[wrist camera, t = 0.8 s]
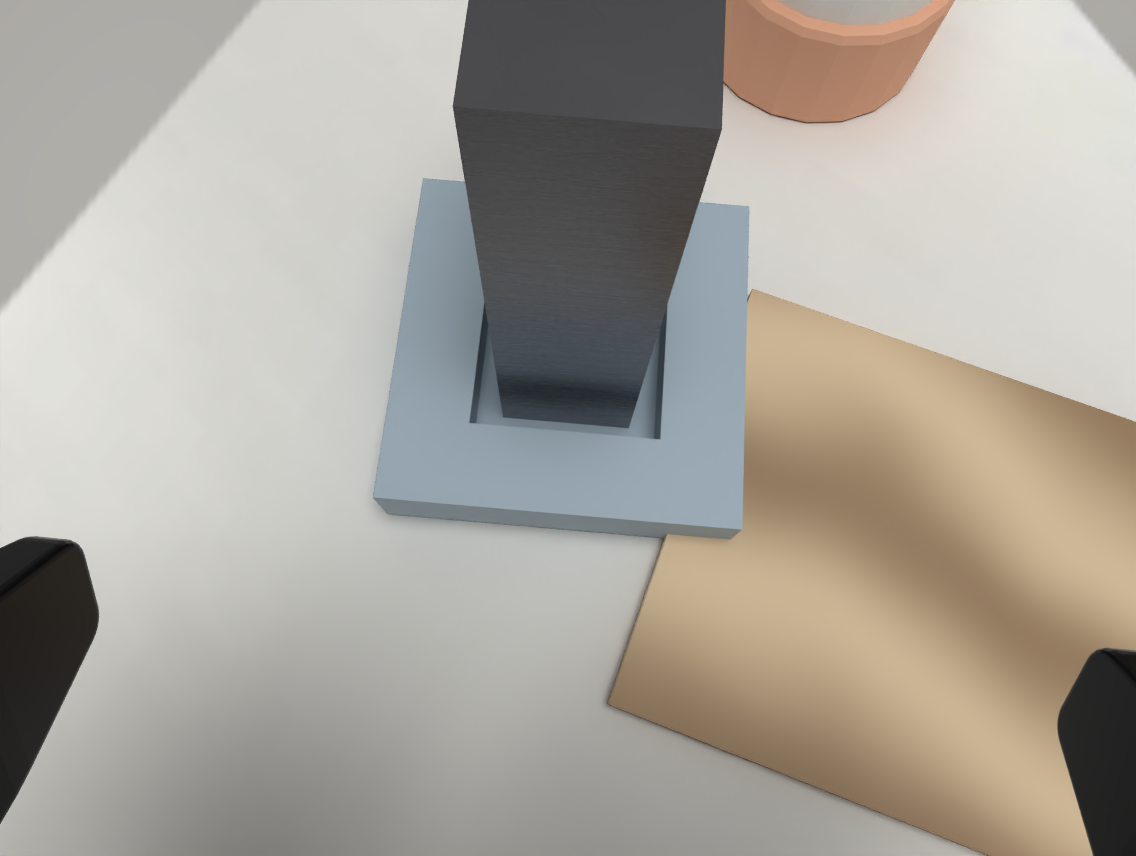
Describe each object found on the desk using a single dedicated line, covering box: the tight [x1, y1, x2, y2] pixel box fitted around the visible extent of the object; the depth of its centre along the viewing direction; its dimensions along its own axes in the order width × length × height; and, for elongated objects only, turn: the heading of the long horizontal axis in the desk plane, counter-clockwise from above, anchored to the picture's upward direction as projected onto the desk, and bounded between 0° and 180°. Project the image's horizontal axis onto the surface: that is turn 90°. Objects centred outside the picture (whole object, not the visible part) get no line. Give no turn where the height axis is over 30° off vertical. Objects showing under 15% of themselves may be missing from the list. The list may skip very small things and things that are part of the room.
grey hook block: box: [453, 0, 726, 428], centre depth 17 cm, size 6×3×13 cm, turn 175°
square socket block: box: [373, 178, 749, 540], centre depth 23 cm, size 9×9×2 cm
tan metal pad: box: [607, 289, 1136, 856], centre depth 22 cm, size 12×12×1 cm
